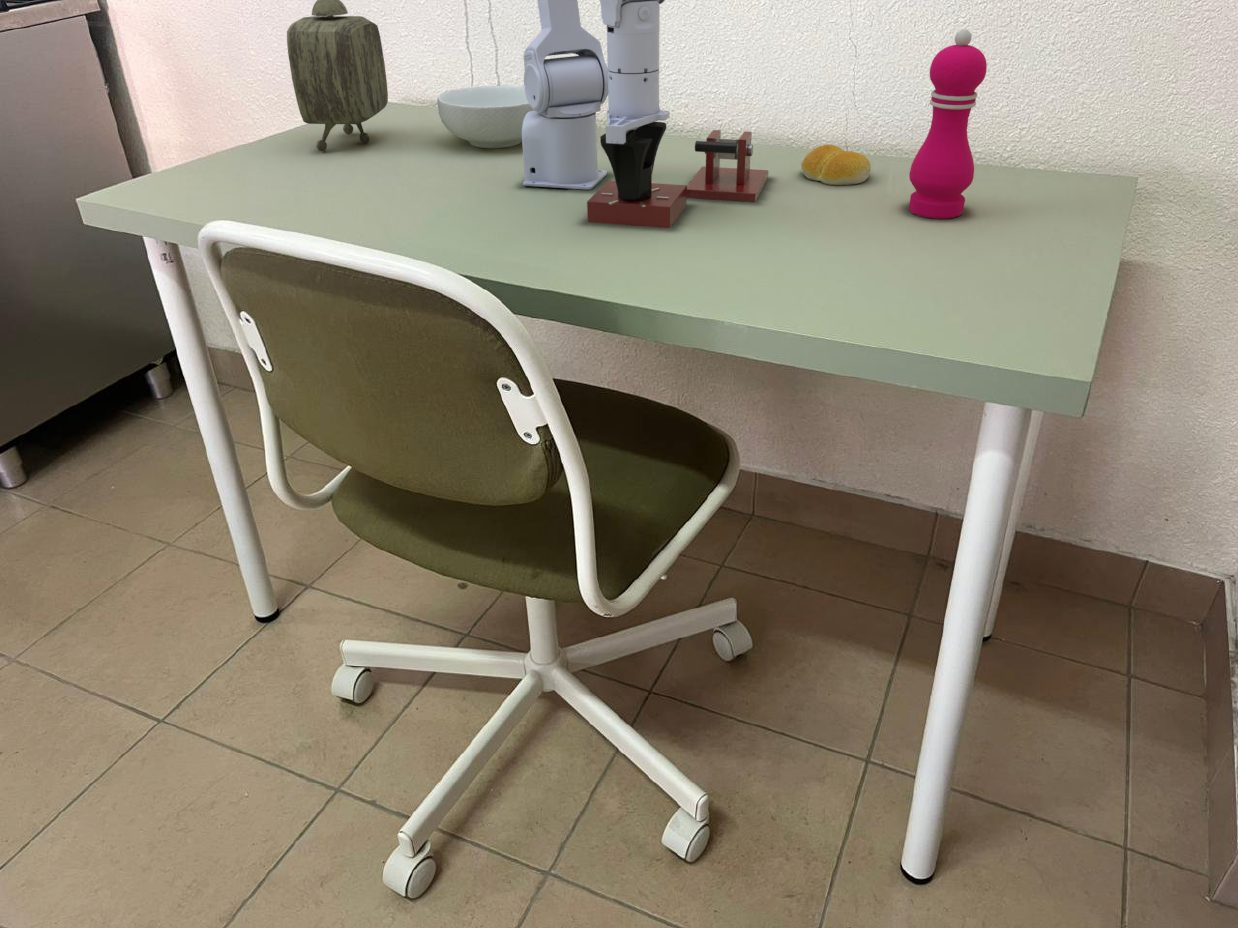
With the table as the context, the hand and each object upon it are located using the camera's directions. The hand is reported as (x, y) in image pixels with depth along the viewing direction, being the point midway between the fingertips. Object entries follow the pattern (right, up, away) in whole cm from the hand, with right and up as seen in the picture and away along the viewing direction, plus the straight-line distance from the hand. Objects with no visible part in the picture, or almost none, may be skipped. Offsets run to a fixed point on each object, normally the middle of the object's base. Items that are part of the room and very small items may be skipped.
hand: (634, 192), depth 113 cm
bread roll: (+27, +6, +15) cm, 31 cm away
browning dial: (0, 0, 0) cm, 0 cm away
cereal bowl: (-21, +17, +35) cm, 44 cm away
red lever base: (+12, +4, +11) cm, 17 cm away
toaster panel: (0, -2, +3) cm, 3 cm away
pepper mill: (+36, -2, +2) cm, 36 cm away
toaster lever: (+11, +6, +5) cm, 13 cm away
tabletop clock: (-43, +18, +36) cm, 59 cm away
